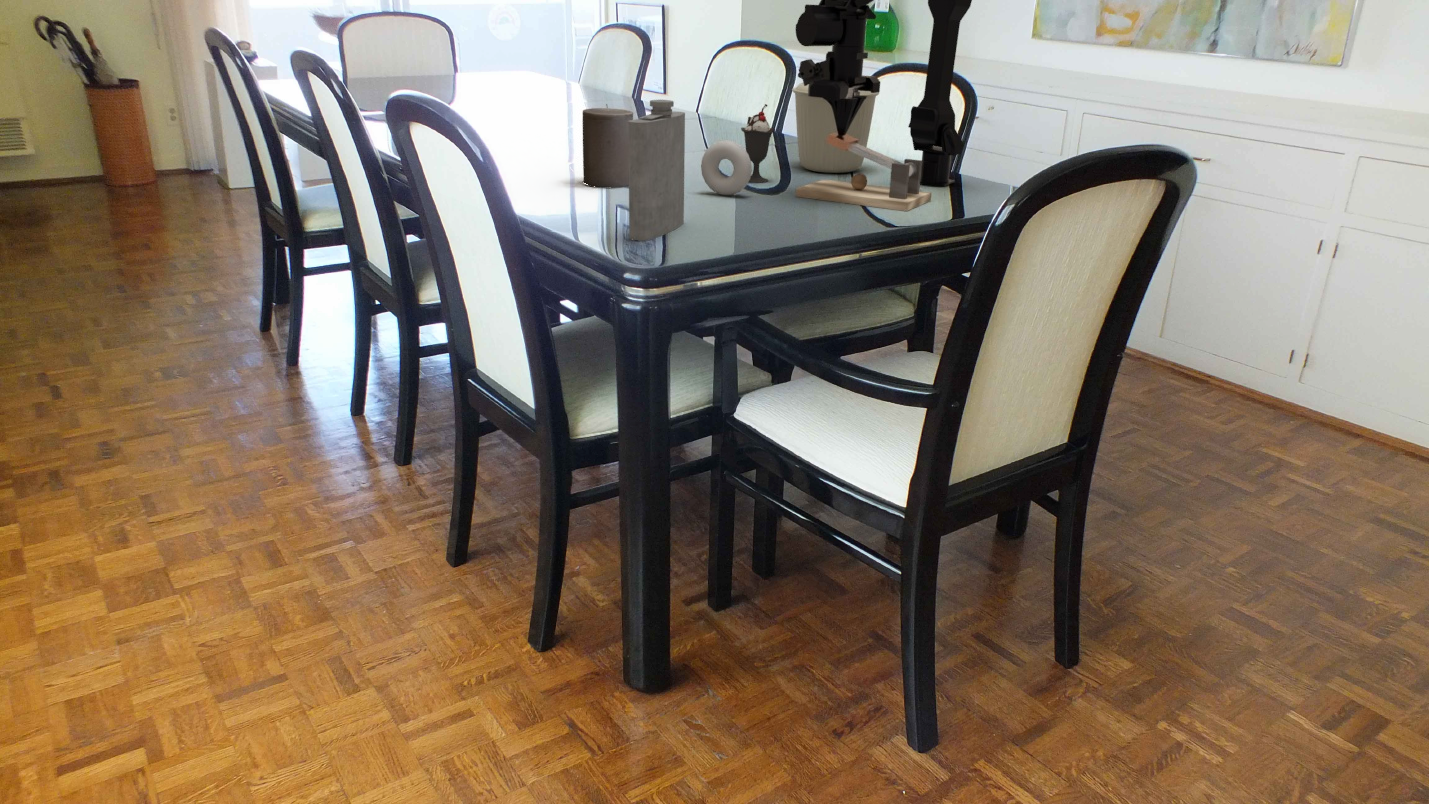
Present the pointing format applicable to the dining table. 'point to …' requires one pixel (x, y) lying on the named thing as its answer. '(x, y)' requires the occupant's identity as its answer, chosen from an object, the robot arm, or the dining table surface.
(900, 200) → the base
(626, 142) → the pillar candle
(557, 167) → the dining table surface
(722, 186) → the donut
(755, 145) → the sundae
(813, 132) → the canister
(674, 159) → the hip flask
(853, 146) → the lever
